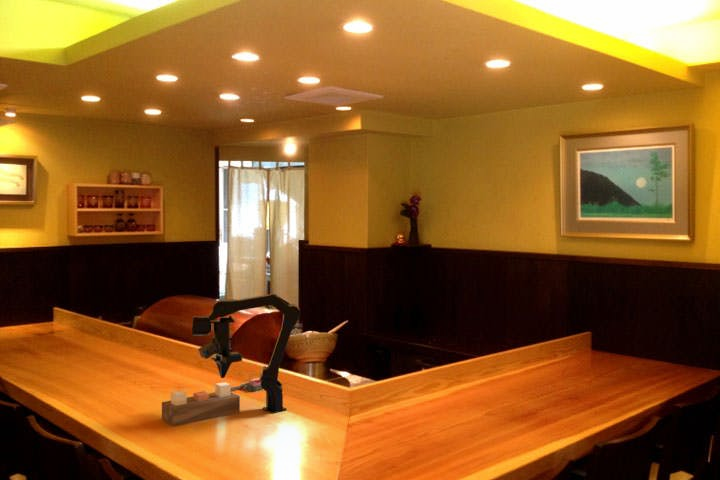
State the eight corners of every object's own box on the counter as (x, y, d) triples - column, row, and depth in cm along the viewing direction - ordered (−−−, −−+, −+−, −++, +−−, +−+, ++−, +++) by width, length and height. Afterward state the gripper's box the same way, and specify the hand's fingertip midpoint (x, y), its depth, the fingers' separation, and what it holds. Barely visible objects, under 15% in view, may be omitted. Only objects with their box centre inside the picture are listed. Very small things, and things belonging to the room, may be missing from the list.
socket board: (239, 412, 250) (239, 396, 250) (174, 426, 235) (173, 408, 234) (226, 406, 258) (226, 390, 258) (161, 419, 242) (161, 402, 242)
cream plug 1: (186, 408, 240) (186, 392, 240) (175, 410, 238) (175, 394, 238) (181, 406, 244) (181, 389, 243) (170, 408, 241) (170, 391, 241)
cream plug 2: (230, 400, 251) (230, 384, 251) (220, 402, 249) (220, 386, 248) (225, 397, 254) (225, 382, 254) (215, 399, 252) (215, 383, 251)
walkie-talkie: (264, 383, 293) (225, 392, 278) (264, 373, 293) (225, 382, 278) (278, 387, 287) (239, 396, 272) (278, 376, 287) (239, 385, 272)
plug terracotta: (209, 409, 246) (209, 393, 246) (198, 411, 243) (198, 395, 243) (203, 407, 249) (203, 391, 249) (193, 409, 246) (193, 393, 246)
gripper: (189, 333, 252) (190, 376, 253) (214, 341, 238) (214, 386, 239) (217, 330, 259) (217, 371, 260) (242, 337, 245) (243, 381, 246)
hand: (222, 377), depth 251 cm, fingers closed
